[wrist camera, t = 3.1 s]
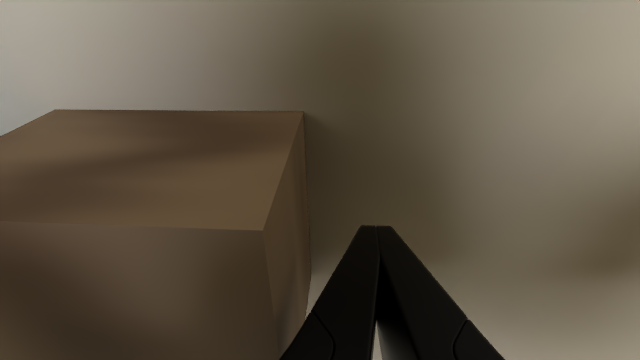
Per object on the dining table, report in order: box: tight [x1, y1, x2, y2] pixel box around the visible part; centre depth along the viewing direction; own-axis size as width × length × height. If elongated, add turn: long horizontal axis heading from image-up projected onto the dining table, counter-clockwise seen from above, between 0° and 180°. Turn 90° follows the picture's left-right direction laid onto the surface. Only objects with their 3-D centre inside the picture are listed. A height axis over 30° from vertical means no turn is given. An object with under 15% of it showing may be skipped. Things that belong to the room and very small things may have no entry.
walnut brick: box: [0, 110, 311, 360], centre depth 9 cm, size 7×6×5 cm
